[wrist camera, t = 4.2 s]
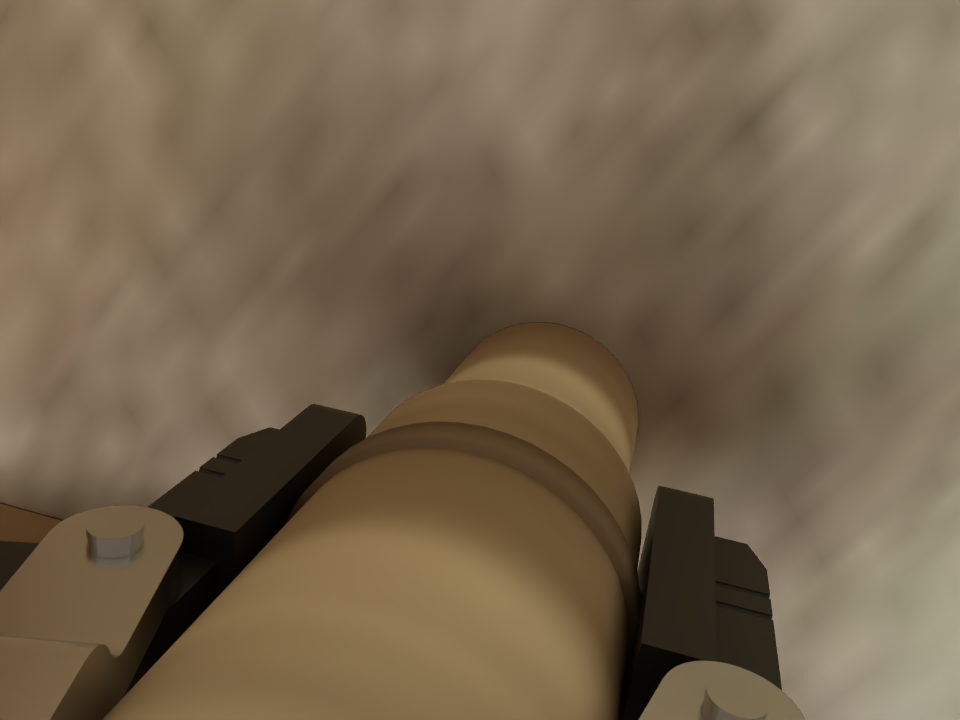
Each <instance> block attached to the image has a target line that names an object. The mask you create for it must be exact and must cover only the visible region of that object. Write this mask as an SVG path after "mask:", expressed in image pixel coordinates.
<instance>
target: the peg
mask: <svg viewBox="0 0 960 720" xmlns="http://www.w3.org/2000/svg"><path fill="white" fill-rule="evenodd" d="M637 429H638V406H637V399H636V396H635V392H634V389H633V386H632V384H631V382H630V379H629V377H628V375H627V374H626V372H625V370H624V369H623V367H622V365H621V364H620V363H619V362H618V361H617V359H616V358H615V357H614V356H613V355H612V354H611V353H610V352H609V351H608V350H607V349H606V348H605V347H604V346H603V345H601V344H600V343H599V342H597V341H596V340H595V339H593V338H591V337H589V336H588V335H586V334H584V333H582V332H580V331H577V330H575V329H572V328H570V327H566V326H562V325H558V324H551V323H525V324H519V325H515V326H511V327H507V328H505V329H503V330H500V331H498V332H496V333H494V334H492V335H491V336H489V337H487V338H486V339H484V340H483V341H482V342H481V343H479V344H478V345H477V346H476V347H475V348H474V349H473V350H472V351H471V352H470V353H469V354H468V356H467V357H466V358H465V359H464V360H463V361H462V363H461V364H460V365H459V366H458V367H457V368H456V370H455V371H454V372H453V373H452V374H451V376H450V377H449V378H448V379H447V380H446V381H445V383H444V384H443V385H439V386H436V387H434V388H431V389H429V390H426V391H423V392H421V393H419V394H417V395H416V396H414V397H412V398H410V399H408V400H407V401H405V402H404V403H402V404H401V405H400V406H399V407H397V408H396V409H395V410H393V411H392V412H391V413H390V414H389V415H388V416H387V417H386V418H385V419H384V420H383V421H382V423H381V424H380V425H379V426H378V427H377V428H376V429H375V430H374V431H373V432H372V433H371V434H370V435H369V436H368V437H367V438H366V439H364V440H363V441H361V442H359V443H357V444H355V445H354V446H352V447H351V448H349V449H348V450H347V451H345V452H344V453H343V454H341V455H340V456H339V457H338V458H336V459H335V460H334V461H333V462H332V463H331V464H330V465H329V466H328V467H327V468H326V469H325V470H324V472H323V473H322V474H321V475H320V476H319V477H318V478H317V479H316V480H315V481H314V482H313V483H312V484H311V485H310V486H309V487H308V488H307V489H306V490H305V491H304V493H303V494H302V495H301V497H300V498H299V500H298V501H297V503H296V504H295V506H294V507H293V509H292V510H291V513H290V515H289V517H288V519H287V521H286V523H285V525H284V527H283V528H282V529H281V530H280V531H279V532H278V533H277V534H276V535H275V536H274V537H273V539H272V540H271V541H270V542H269V543H268V544H267V545H266V546H265V547H264V548H263V549H262V550H261V551H260V552H259V553H258V555H257V556H256V557H255V558H254V559H253V560H252V561H251V562H250V563H249V564H248V565H247V566H246V567H245V568H244V569H243V571H242V572H241V573H240V574H239V575H238V576H237V577H236V578H235V579H234V580H233V581H232V582H231V583H230V584H229V585H228V586H227V588H226V589H225V590H224V591H223V592H222V593H221V594H220V595H219V596H218V597H217V598H216V599H215V600H214V601H213V602H212V604H211V605H210V606H209V607H208V608H207V609H206V610H205V611H204V612H203V613H202V614H201V615H200V616H199V617H198V618H197V619H196V621H195V622H194V623H193V624H192V625H191V626H190V627H189V628H188V629H187V630H186V631H185V632H184V633H183V634H182V635H181V637H180V638H179V639H178V640H177V641H176V642H175V643H174V644H173V645H172V646H171V647H170V648H169V649H168V650H167V651H166V653H165V654H164V655H163V656H162V657H161V658H160V659H159V660H158V661H157V662H156V663H155V664H154V665H153V666H152V667H151V668H150V670H149V671H148V672H147V673H146V674H145V675H144V676H143V677H142V678H141V679H140V680H139V681H138V682H137V683H136V684H135V686H134V687H133V688H132V689H131V690H130V691H129V692H128V693H127V694H126V695H125V696H124V697H123V698H122V699H121V700H120V701H119V703H118V704H117V705H116V706H115V707H114V708H113V709H112V710H111V711H110V712H109V713H108V714H107V715H106V716H105V717H104V719H103V720H618V716H619V709H620V701H621V693H622V686H623V682H624V678H625V673H626V669H627V665H628V661H629V657H630V653H631V648H632V644H633V640H634V636H635V632H636V628H637V623H638V616H639V608H640V599H641V593H640V586H639V579H638V572H637V568H638V560H639V552H640V544H641V513H640V507H639V501H638V497H637V494H636V490H635V487H634V484H633V481H632V479H631V477H630V469H631V464H632V458H633V453H634V447H635V441H636V436H637Z"/></svg>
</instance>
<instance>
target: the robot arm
mask: <svg viewBox="0 0 960 720" xmlns="http://www.w3.org/2000/svg"><path fill="white" fill-rule="evenodd" d="M365 438H366V422H365V419H364V417H363V416H362V415H359V414H355V413H350V412H346V411H342V410H338V409H333V408H329V407H325V406H321V405H316V404H312V405H310V406H308V407H307V408H306V409H305V410H303V411H302V412H301V413H300V414H299V415H297V416H296V417H295V418H294V419H292V420H291V421H290V422H289V423H288V424H286V425H285V426H284V427H283V428H281V429H280V430H278V429H274V428H267V429H264V430H261V431H258V432H255V433H252V434H249V435H246V436H243V437H240V438H238V439H236V440H235V441H234V442H233V443H231V444H230V445H229V446H227V447H226V448H225V449H223V450H222V451H221V452H219V453H218V454H217V457H216V458H214V457H213V458H211V459H210V460H209V461H208V462H206V463H205V464H204V465H202V466H201V467H200V469H199V472H198V471H194V472H193V473H192V474H190V475H189V476H188V477H187V478H185V479H184V480H183V481H181V482H180V483H179V484H177V485H176V486H175V487H173V488H172V489H171V490H169V491H168V492H167V493H165V494H164V495H163V496H162V497H160V498H159V499H158V500H156V501H155V502H154V503H152V504H151V505H150V506H148V507H142V506H132V505H115V506H106V507H100V508H94V509H90V510H87V511H83V512H80V513H78V514H75V515H73V516H70V517H69V518H67V519H65V520H63V521H61V522H60V523H59V524H57V525H56V526H55V527H54V528H53V529H52V530H51V531H49V533H48V534H47V535H46V536H45V538H44V539H43V540H42V541H41V542H40V543H30V542H14V541H0V720H103V719H104V717H105V716H106V715H107V714H108V713H109V712H110V711H111V710H112V709H113V708H114V707H115V706H116V705H117V704H118V703H119V701H120V700H121V699H122V698H123V697H124V696H125V695H126V694H127V693H128V692H129V691H130V690H131V689H132V688H133V687H134V686H135V684H136V683H137V682H138V681H139V680H140V679H141V678H142V677H143V676H144V675H145V674H146V673H147V672H148V671H149V670H150V668H151V667H152V666H153V665H154V664H155V663H156V662H157V661H158V660H159V659H160V658H161V657H162V656H163V655H164V654H165V653H166V651H167V650H168V649H169V648H170V647H171V646H172V645H173V644H174V643H175V642H176V641H177V640H178V639H179V638H180V637H181V635H182V634H183V633H184V632H185V631H186V630H187V629H188V628H189V627H190V626H191V625H192V624H193V623H194V622H195V621H196V619H197V618H198V617H199V616H200V615H201V614H202V613H203V612H204V611H205V610H206V609H207V608H208V607H209V606H210V605H211V604H212V602H213V601H214V600H215V599H216V598H217V597H218V596H219V595H220V594H221V593H222V592H223V591H224V590H225V589H226V588H227V586H228V585H229V584H230V583H231V582H232V581H233V580H234V579H235V578H236V577H237V576H238V575H239V574H240V573H241V572H242V571H243V569H244V568H245V567H246V566H247V565H248V564H249V563H250V562H251V561H252V560H253V559H254V558H255V557H256V556H257V555H258V553H259V552H260V551H261V550H262V549H263V548H264V547H265V546H266V545H267V544H268V543H269V542H270V541H271V540H272V539H273V537H274V536H275V535H276V534H277V533H278V532H279V531H280V530H281V529H282V528H283V527H284V525H285V523H286V521H287V519H288V517H289V515H290V513H291V510H292V509H293V507H294V506H295V504H296V503H297V501H298V500H299V498H300V497H301V495H302V494H303V493H304V491H305V490H306V489H307V488H308V487H309V486H310V485H311V484H312V483H313V482H314V481H315V480H316V479H317V478H318V477H319V476H320V475H321V474H322V473H323V472H324V470H325V469H326V468H327V467H328V466H329V465H330V464H331V463H332V462H333V461H334V460H335V459H336V458H338V457H339V456H340V455H341V454H343V453H344V452H345V451H347V450H348V449H349V448H351V447H352V446H354V445H355V444H357V443H359V442H361V441H363V440H364V439H365ZM638 579H639V586H640V593H641V599H640V608H639V616H638V623H637V628H636V632H635V636H634V640H633V644H632V648H631V653H630V657H629V661H628V665H627V669H626V673H625V678H624V682H623V686H622V693H621V701H620V709H619V716H618V720H806V719H805V718H804V716H803V714H802V712H801V711H800V709H799V708H798V707H797V706H796V704H795V703H794V702H793V701H792V700H791V699H790V698H789V697H788V696H787V695H786V694H785V693H784V692H783V691H782V687H781V679H780V671H779V663H778V655H777V647H776V639H775V631H774V624H773V620H772V608H771V600H770V599H769V596H770V592H769V584H768V576H767V569H766V568H765V567H764V565H763V564H762V563H761V561H760V560H759V559H758V558H757V556H756V555H755V554H754V552H753V551H752V550H751V548H750V547H749V546H748V544H744V543H740V542H736V541H732V540H728V539H724V538H720V537H715V536H714V500H713V498H709V497H705V496H701V495H697V494H692V493H688V492H684V491H680V490H675V489H671V488H667V487H663V486H658V489H657V492H656V496H655V500H654V504H653V508H652V512H651V517H650V521H649V525H648V529H647V534H646V538H645V542H644V546H643V551H642V555H641V559H640V563H639V568H638Z"/></svg>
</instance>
